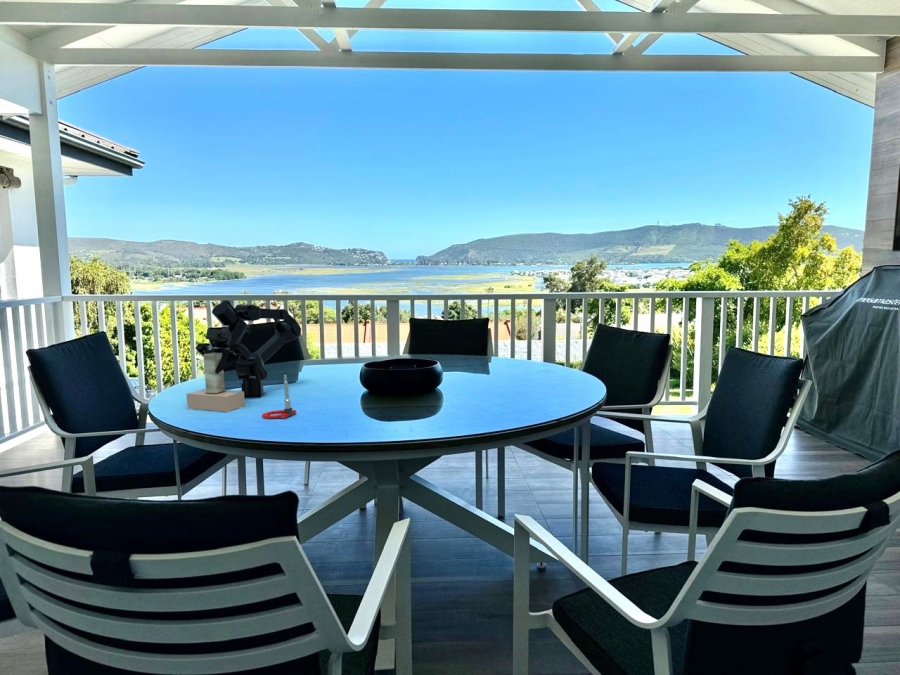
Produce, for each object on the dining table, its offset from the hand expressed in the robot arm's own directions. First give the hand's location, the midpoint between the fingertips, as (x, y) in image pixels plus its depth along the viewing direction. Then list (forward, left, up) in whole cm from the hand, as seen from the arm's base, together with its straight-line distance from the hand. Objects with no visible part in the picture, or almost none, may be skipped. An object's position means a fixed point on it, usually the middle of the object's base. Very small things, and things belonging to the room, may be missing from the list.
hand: (210, 372), depth 187 cm
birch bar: (-1, -1, -7) cm, 7 cm away
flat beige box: (-1, -1, -12) cm, 12 cm away
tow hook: (-24, +12, -12) cm, 29 cm away
